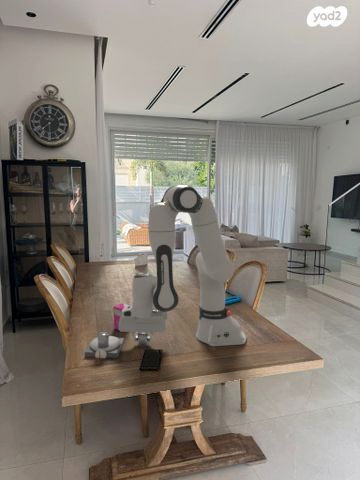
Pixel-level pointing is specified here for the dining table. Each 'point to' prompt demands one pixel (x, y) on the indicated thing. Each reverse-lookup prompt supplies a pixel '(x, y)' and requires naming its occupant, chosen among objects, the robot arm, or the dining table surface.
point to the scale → (110, 351)
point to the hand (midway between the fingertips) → (142, 340)
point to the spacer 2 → (142, 339)
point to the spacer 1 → (103, 339)
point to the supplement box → (117, 315)
